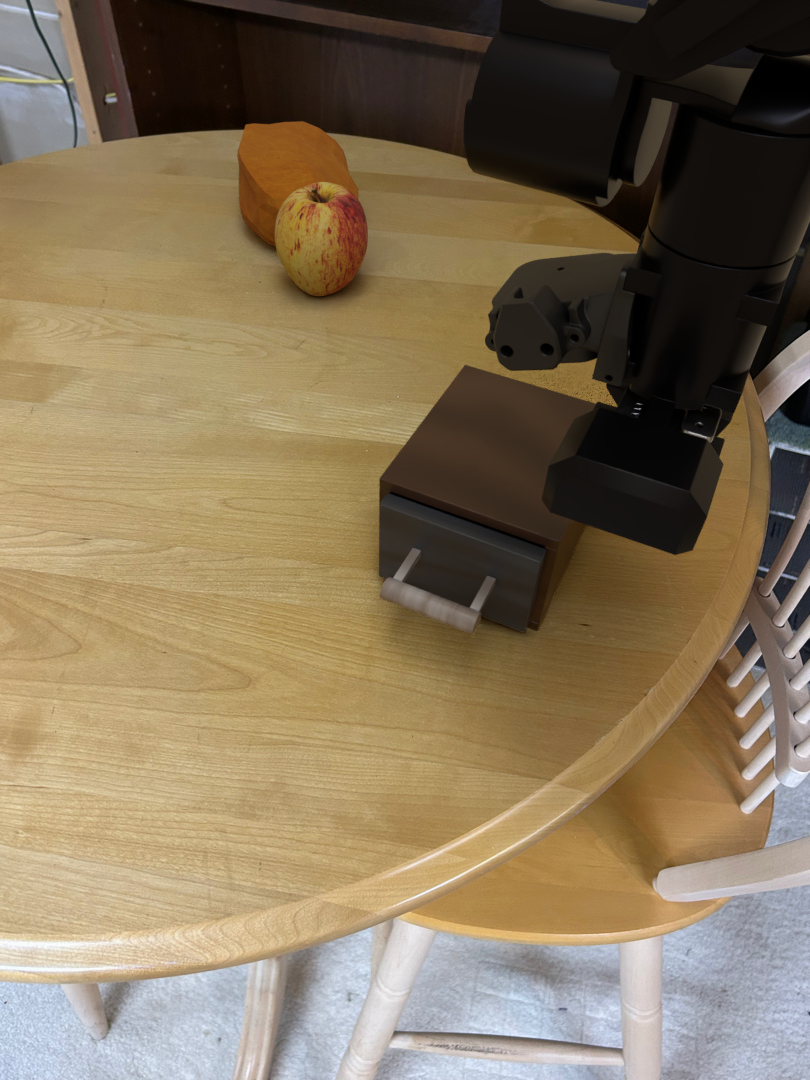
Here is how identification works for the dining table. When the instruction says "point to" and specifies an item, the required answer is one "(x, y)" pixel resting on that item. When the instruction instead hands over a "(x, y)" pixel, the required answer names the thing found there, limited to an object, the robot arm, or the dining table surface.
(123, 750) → the dining table surface
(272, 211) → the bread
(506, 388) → the cabinet
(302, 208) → the apple
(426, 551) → the drawer
